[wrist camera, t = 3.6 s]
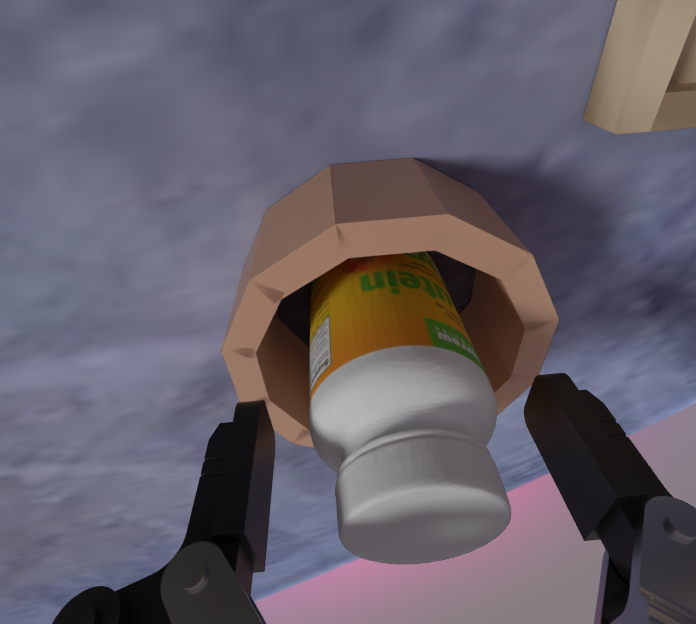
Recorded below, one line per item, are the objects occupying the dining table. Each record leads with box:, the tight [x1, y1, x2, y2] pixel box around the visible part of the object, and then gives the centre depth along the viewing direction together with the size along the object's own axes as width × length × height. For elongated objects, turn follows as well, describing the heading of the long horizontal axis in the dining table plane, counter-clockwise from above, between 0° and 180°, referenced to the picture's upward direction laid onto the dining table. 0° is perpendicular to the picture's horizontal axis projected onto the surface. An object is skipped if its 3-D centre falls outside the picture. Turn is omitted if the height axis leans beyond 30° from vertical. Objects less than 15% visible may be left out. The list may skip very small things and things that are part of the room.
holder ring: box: [221, 158, 559, 448], centre depth 15 cm, size 10×10×4 cm
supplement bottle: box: [309, 251, 511, 564], centre depth 13 cm, size 5×5×10 cm
